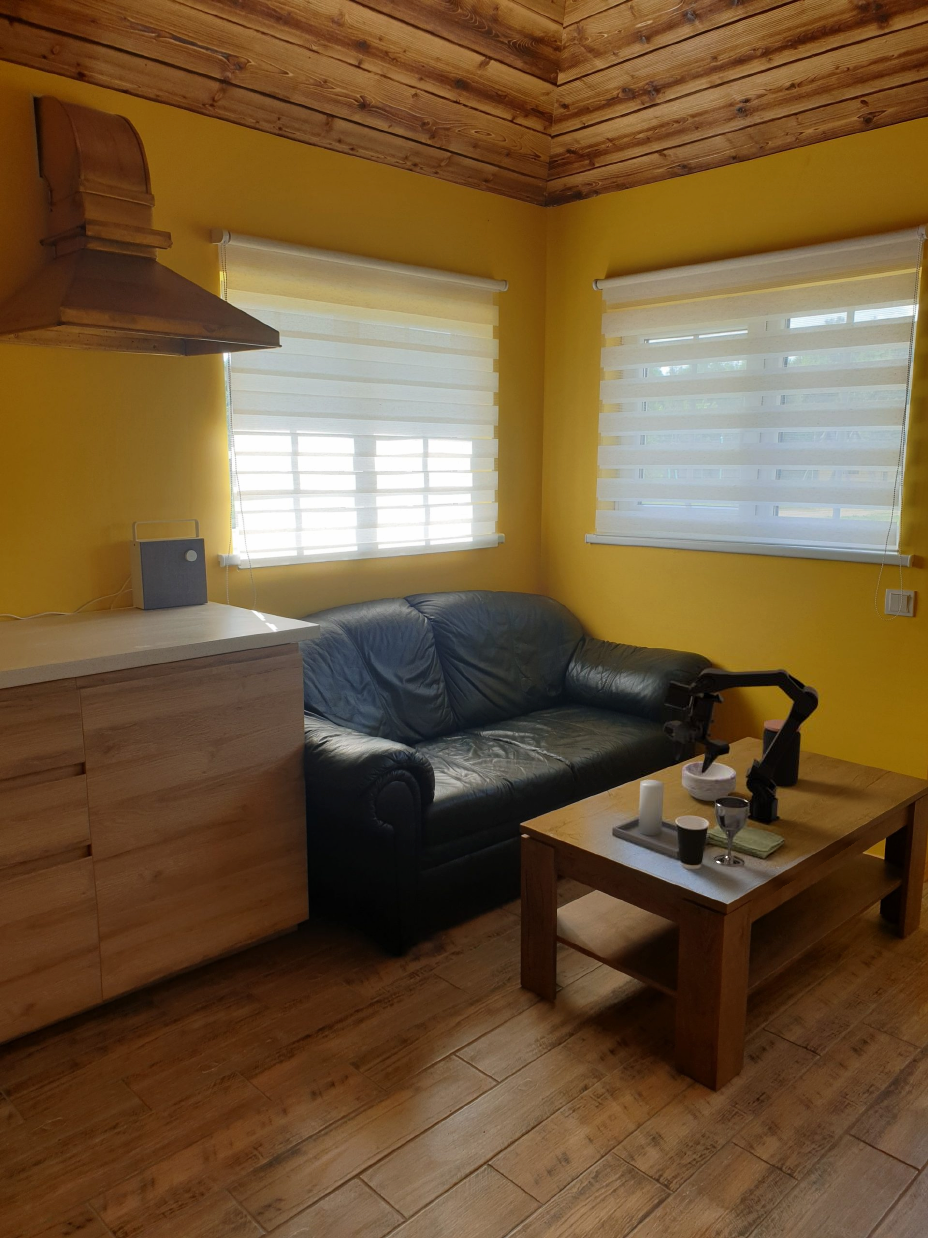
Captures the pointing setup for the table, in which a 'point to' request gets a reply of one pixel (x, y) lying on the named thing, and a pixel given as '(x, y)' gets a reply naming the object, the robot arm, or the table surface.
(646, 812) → the white cylinder
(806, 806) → the table surface
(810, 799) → the table surface
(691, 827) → the dixie cup
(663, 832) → the tray
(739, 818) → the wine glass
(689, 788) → the paper bowls
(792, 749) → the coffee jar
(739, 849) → the washcloth
